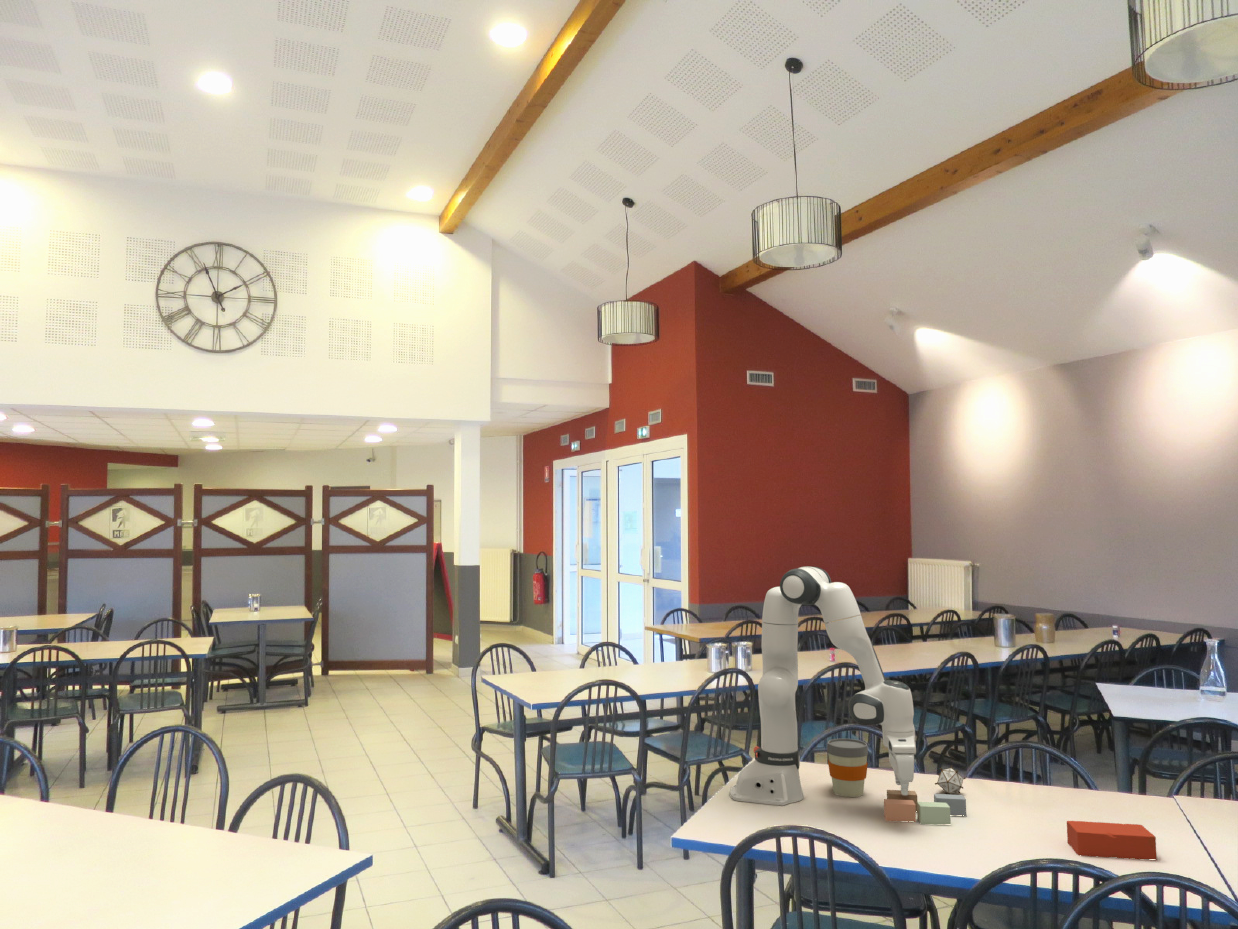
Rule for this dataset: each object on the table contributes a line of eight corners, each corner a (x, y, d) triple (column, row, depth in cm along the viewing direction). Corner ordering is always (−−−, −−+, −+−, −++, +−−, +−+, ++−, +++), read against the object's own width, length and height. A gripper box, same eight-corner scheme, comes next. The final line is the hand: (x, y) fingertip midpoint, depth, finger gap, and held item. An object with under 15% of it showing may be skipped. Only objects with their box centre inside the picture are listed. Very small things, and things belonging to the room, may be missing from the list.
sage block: (920, 825, 239) (920, 806, 239) (917, 820, 243) (917, 801, 243) (950, 826, 238) (950, 807, 238) (946, 821, 242) (946, 802, 242)
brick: (1142, 848, 221) (1141, 824, 222) (1157, 861, 213) (1156, 837, 213) (1067, 843, 225) (1066, 820, 225) (1078, 856, 216) (1077, 832, 216)
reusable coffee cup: (819, 789, 271) (818, 741, 272) (850, 784, 276) (849, 736, 277) (845, 801, 259) (844, 750, 260) (878, 795, 264) (876, 745, 266)
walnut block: (889, 811, 250) (888, 794, 250) (887, 807, 254) (886, 789, 254) (917, 813, 249) (917, 795, 249) (915, 808, 253) (914, 791, 253)
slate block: (937, 816, 246) (936, 798, 246) (934, 811, 250) (933, 793, 250) (966, 817, 245) (965, 799, 245) (963, 812, 249) (962, 795, 249)
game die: (957, 807, 264) (973, 786, 259) (931, 797, 264) (946, 776, 260) (953, 785, 272) (968, 764, 267) (928, 775, 272) (942, 754, 267)
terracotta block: (886, 821, 242) (885, 803, 242) (884, 817, 246) (883, 799, 246) (915, 823, 240) (915, 804, 241) (913, 818, 244) (912, 800, 245)
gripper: (882, 731, 255) (885, 778, 254) (893, 748, 235) (895, 800, 234) (904, 731, 254) (907, 779, 253) (917, 748, 234) (920, 800, 233)
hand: (901, 789), depth 243 cm, fingers open, 8 cm apart
